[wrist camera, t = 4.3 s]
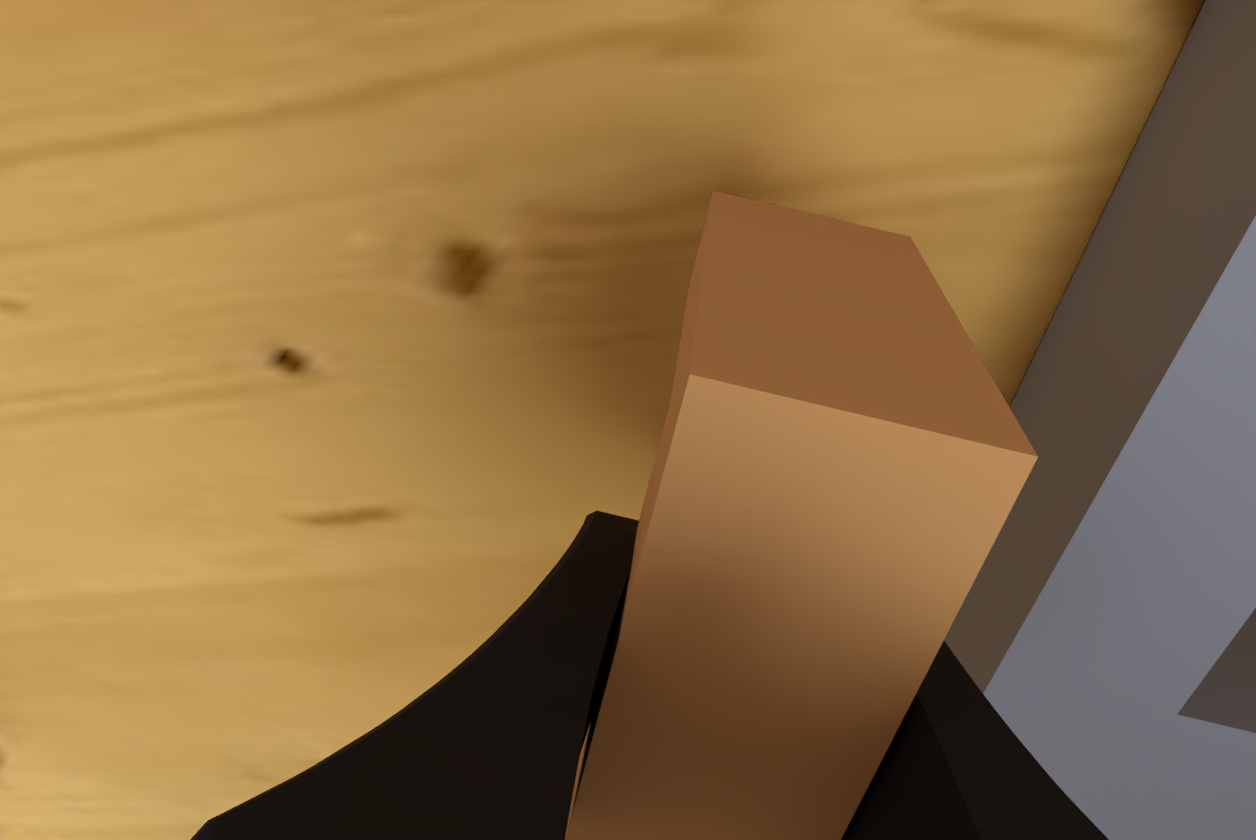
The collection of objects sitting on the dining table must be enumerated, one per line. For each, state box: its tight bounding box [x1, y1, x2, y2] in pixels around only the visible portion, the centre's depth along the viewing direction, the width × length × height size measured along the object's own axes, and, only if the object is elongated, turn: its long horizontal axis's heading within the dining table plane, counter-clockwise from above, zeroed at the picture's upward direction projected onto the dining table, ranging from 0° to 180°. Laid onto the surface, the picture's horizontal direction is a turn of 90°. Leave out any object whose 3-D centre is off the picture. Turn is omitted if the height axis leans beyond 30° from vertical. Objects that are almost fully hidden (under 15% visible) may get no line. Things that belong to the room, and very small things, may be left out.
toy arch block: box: [565, 191, 1038, 840], centre depth 12 cm, size 9×3×6 cm, turn 168°
